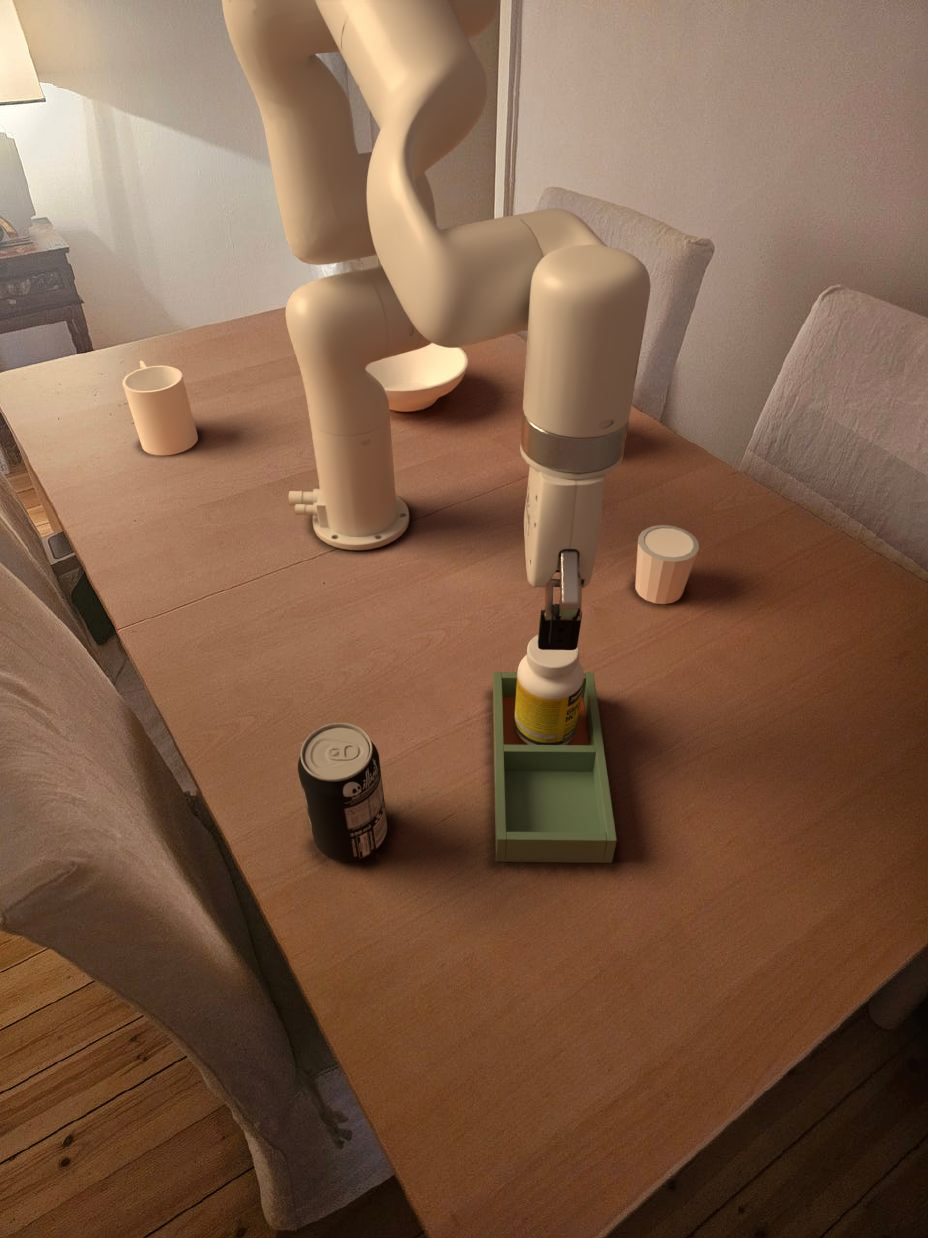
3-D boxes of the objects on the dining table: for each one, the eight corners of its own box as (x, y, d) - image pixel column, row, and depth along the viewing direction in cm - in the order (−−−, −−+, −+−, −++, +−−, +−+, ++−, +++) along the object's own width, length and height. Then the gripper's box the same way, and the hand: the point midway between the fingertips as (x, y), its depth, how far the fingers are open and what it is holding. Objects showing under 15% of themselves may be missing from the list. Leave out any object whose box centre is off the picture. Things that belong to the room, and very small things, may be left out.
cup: (182, 411, 130) (166, 351, 123) (204, 446, 122) (189, 383, 115) (129, 424, 127) (110, 363, 120) (149, 460, 119) (129, 397, 112)
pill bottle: (573, 757, 79) (584, 678, 71) (509, 747, 80) (513, 668, 72) (579, 709, 83) (590, 630, 76) (519, 700, 84) (524, 621, 77)
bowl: (490, 391, 134) (491, 351, 130) (423, 444, 122) (421, 402, 118) (394, 363, 142) (391, 324, 137) (321, 410, 130) (316, 369, 125)
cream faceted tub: (691, 577, 100) (702, 530, 95) (683, 613, 95) (695, 566, 90) (635, 565, 101) (643, 519, 97) (624, 600, 97) (632, 553, 92)
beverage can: (316, 805, 76) (297, 721, 68) (387, 800, 76) (377, 715, 68) (312, 869, 71) (292, 787, 63) (388, 863, 71) (378, 781, 63)
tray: (495, 862, 71) (496, 839, 69) (493, 695, 86) (493, 671, 83) (611, 863, 71) (617, 840, 69) (589, 696, 86) (593, 672, 83)
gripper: (517, 375, 65) (507, 543, 77) (526, 504, 53) (512, 681, 65) (611, 376, 65) (587, 544, 77) (642, 506, 53) (607, 682, 65)
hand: (553, 606), depth 71 cm, fingers open, 9 cm apart
